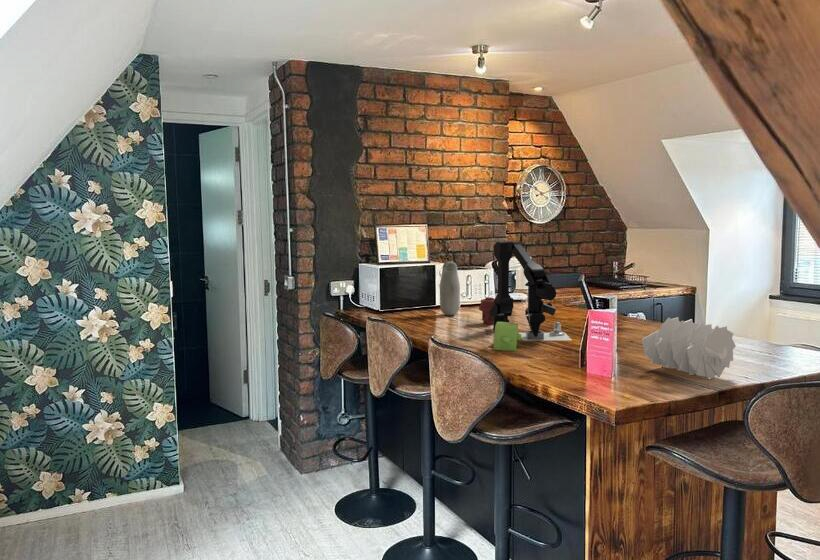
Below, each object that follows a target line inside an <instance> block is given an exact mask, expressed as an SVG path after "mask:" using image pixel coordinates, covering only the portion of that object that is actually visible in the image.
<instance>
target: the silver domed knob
mask: <svg viewBox="0 0 820 560" xmlns="http://www.w3.org/2000/svg"><path fill="white" fill-rule="evenodd" d="M549 333H550V335H553V336H564V335H565V333H566V332H564V331H562V324H561V322H560V321H555V322H554V324H553V330H552V331H549Z"/></svg>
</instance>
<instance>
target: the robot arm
mask: <svg viewBox="0 0 820 560" xmlns="http://www.w3.org/2000/svg"><path fill="white" fill-rule="evenodd" d="M522 245H523V244H522V242H521V241H517V240H516V241H514V240H513V241H512V240H511V241H509V240H508V241H496V242H495V243H494V244H493V255H494V257H495V259H496V260H497V293H496V296H495V297H494V305H493V307H492V308H491V310H490V311H489V313H490V316H491V317H493V324H492V325H493V327H492V330H493V331H495V325H496V323H497V322H509V323H510V319H509V317H511V316H512V314H513V309H514V308H515V307H514V298H513V297H512V296H511V294H510V261H511V260H512V257H513V256H514V257H515V259H516V260H517V261H518V263H519V264H520V266H521V267H522V268H523V276H524V277H525V279H526V280H527V281H526V283H525V284H524V286H525V287H527V300H526V301H527V308H525V309H524V315H525V318H526V320H527V323H528V325H529V328H530V331H533V334H534V337H537V335H538V331H540V328H541V327H540V326H541V325H542V324H543V323H544V322H546V316H545V314H548V315H550V316H552V317H554V316H555V313H556V312H557V311H556V310H557V308H556V307H555V306H553V303H551V302H546V303H544V300H546V301H553V300H554V299H555V298H556V297H557V291H556V288H555V287H553V283H552V282H551V281H549V280H550V278H548V276H547V273H546V270H545V269H544V268H543V266H541V264H539V263H536V262H534V260H533V259H532V258H531V256H530V255H529V254H528V253H527V251H526V249H524V247H523V246H522ZM550 282H551V283H550ZM544 313H545V314H544Z"/></svg>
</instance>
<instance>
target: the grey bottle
mask: <svg viewBox="0 0 820 560" xmlns="http://www.w3.org/2000/svg"><path fill="white" fill-rule="evenodd" d="M440 277H441V278H440V281H439V307H440V308H439V309H440V310H441V313H442V314H443V315H445V316H449V317H451V316H454V315H457V314H458V312H459V310H460V306H461V305H460V303H461V299H460V297H461V283H460V278H459V272H458V265H457V264H456V262H454V261H450V260H448V261H445V262H444V263H443V265H442V271H441V275H440Z"/></svg>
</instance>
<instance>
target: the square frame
mask: <svg viewBox="0 0 820 560" xmlns="http://www.w3.org/2000/svg"><path fill="white" fill-rule="evenodd" d="M525 333H526V338H527V339H528V340H527V341H544V333H545V332H543V330H539V331H538V335H537V337H534V334H533V331H531V330H525Z"/></svg>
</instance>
